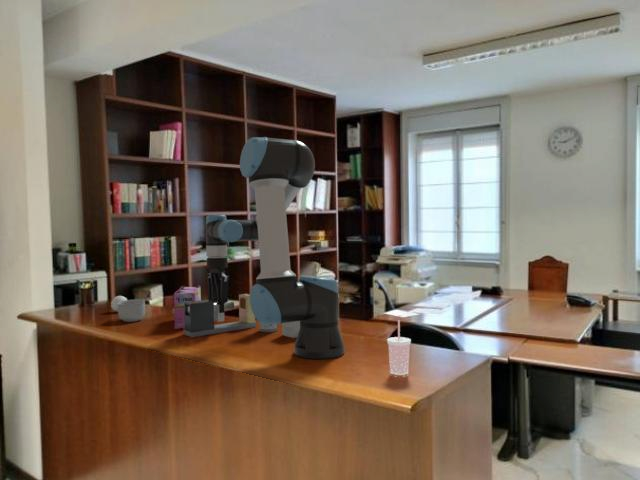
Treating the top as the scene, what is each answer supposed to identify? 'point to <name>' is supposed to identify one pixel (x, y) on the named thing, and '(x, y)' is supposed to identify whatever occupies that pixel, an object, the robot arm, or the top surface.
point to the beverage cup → (399, 353)
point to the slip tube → (226, 306)
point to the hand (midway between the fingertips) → (218, 320)
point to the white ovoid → (116, 300)
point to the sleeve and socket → (204, 314)
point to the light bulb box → (291, 329)
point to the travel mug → (268, 328)
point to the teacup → (131, 310)
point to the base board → (221, 329)
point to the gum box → (179, 298)
